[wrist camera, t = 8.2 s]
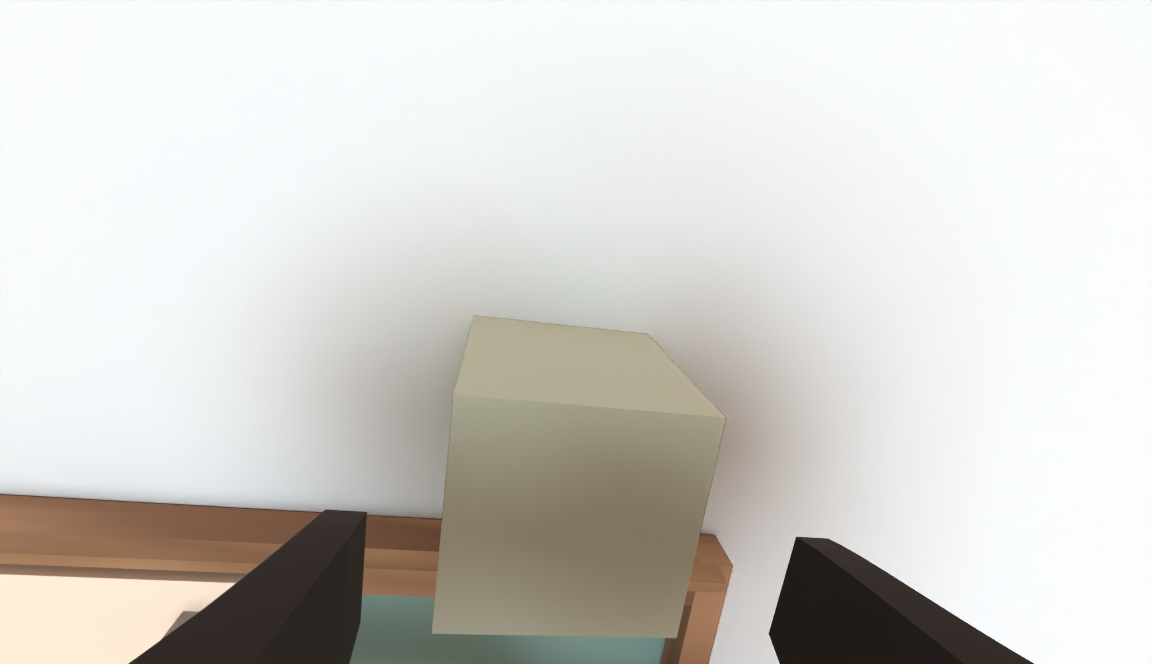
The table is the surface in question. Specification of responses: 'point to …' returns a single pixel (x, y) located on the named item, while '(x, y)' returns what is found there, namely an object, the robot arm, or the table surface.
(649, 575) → the sage block
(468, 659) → the board
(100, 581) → the lid
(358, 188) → the table surface
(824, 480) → the table surface
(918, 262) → the table surface
